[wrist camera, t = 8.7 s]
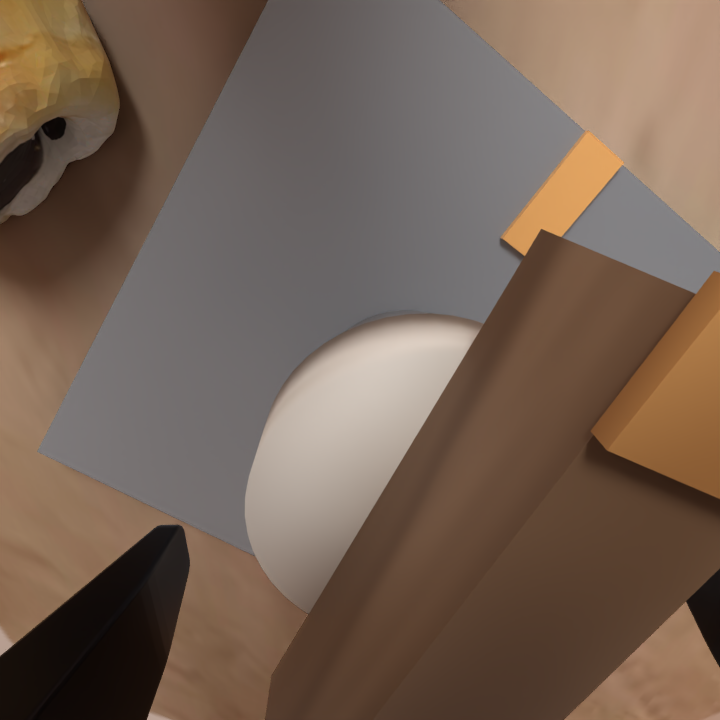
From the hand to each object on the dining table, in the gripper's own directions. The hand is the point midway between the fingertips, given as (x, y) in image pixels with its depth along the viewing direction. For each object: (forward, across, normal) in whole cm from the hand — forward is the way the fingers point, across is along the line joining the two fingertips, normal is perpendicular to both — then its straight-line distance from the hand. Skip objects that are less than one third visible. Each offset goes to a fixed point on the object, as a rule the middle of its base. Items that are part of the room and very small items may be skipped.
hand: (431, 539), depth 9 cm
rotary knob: (+2, 0, 0) cm, 2 cm away
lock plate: (+7, 0, 0) cm, 7 cm away
